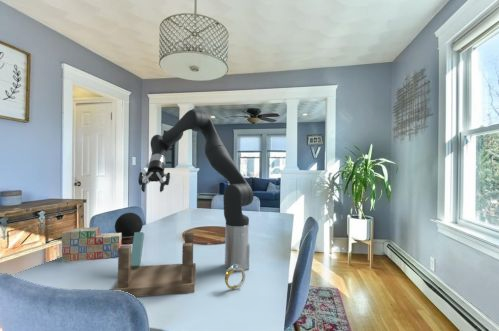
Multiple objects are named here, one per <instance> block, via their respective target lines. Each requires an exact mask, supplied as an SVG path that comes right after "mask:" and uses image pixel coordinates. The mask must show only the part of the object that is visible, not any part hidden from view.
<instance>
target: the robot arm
mask: <svg viewBox="0 0 499 331" xmlns="http://www.w3.org/2000/svg"><path fill="white" fill-rule="evenodd" d="M188 130H192V131H199V132H200V133H202V136H204V137H203V138H204V139H205V145H204V155H205V157H206V159H207V161H208V162H209V164H210V165H211V167H212V168H213V169H214V170H215V171H216V172H217V173H218V174H220V175H221V176H222V177H223V178H225V180H227V182H228V183H229V184H228V185H227V186H226V187H225V189H224V191H223V216H224V220H225V237H224V239H225V241H224V242H225V243H224V244H225V246H224V248H225V249H224V251H225V252H224V268H225V269H226V270H228V269H229V268H230V267H231V266H233V264H234V265H236V264H237V265H238V264H239V265H240V268H242V269H243V270H244V271H246V270H249V269H250V248H251V247H250V244H249V230H250V229H249V228H250V227H249V226H250V224H249V223H250V218H249V217H248V216H247V215H244V214H243V208H242V207H246V206H249V205H251V204H252V203H253V200H254V191H253V189H252V187H251V185H250V184H249V182H248V181H247V180H246V179H245V177H244V176H243V174H242V173H241V171H240V169H239V168H238V167H237V165H236V164H235V162H234V160H233V159H232V156H231V155H230V153H229V151H228V150H227V147H226V146H225V144H224V142H223V141H222V139H221V137H220V135H219V133H218V132H217V130H216V127H215V125H214V123H213V120H212V118H211V116H210V115H209V113H207V112H205V111H202V110H197V109H189V110H188V111H187V112H185V113H184V114H183V115H182V117H181V118H180V119H179V120H178V121H177V122H176V124H175V125H173V126H172V127H171V128H170V129H168V130H167V131H165V132H164V133H163V134H162V135H160V134H155V135H153V136H152V137H151V140H150V150H151V155H150V159H149V161H148V166H147V171H146V172H142V171H140V172H139V175H138V184H139V186H141V188H140V189H141V191H142V193H145V192H146V187H147V185H149V184H150V183H151V182H156V183H157V182H159V184H160V186H159V192H160V193H162V192H163V191H164V189H165V186H169V184H170V180H171V173H170V172H167V173H165V169H166V168H165V167H166V158H167V152H168V151H170V149H171V148H172V147H173V145H174V144H175V143H177V142H178V141H180V140H181V139H182V138H183V136H184V132H187V131H188ZM163 178H165V181H164V179H163ZM239 265H238V266H239ZM231 270H233V269H231ZM231 270H230V271H231ZM234 272H241V271H240V270H235V271H234Z"/></svg>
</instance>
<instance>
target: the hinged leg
mask: <svg viewBox="0 0 499 331" xmlns="http://www.w3.org/2000/svg"><path fill="white" fill-rule="evenodd" d="M144 240H145V233H144V232H143V231H140V232H134V239H133V244H132V245H131V267H140V266H141V264H142V263H141V262H142V256H143V255H142V254H143V248H144Z"/></svg>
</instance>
